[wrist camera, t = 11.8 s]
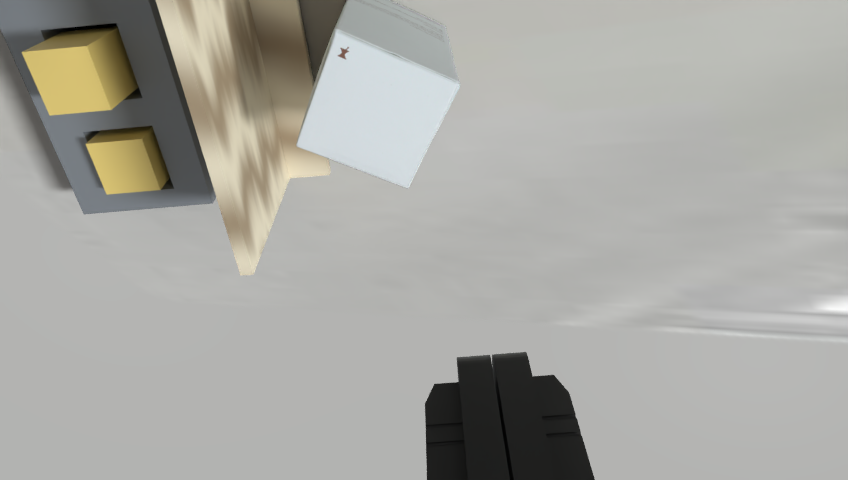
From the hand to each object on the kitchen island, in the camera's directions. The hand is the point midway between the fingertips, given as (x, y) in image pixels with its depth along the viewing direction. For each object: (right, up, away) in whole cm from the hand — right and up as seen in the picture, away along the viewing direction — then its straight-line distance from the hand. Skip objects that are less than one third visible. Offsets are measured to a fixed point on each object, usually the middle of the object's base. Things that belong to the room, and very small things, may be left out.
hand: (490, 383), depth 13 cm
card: (-12, +18, +30) cm, 37 cm away
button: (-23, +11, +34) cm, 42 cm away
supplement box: (-4, +17, +31) cm, 36 cm away
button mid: (-24, +16, +28) cm, 40 cm away
